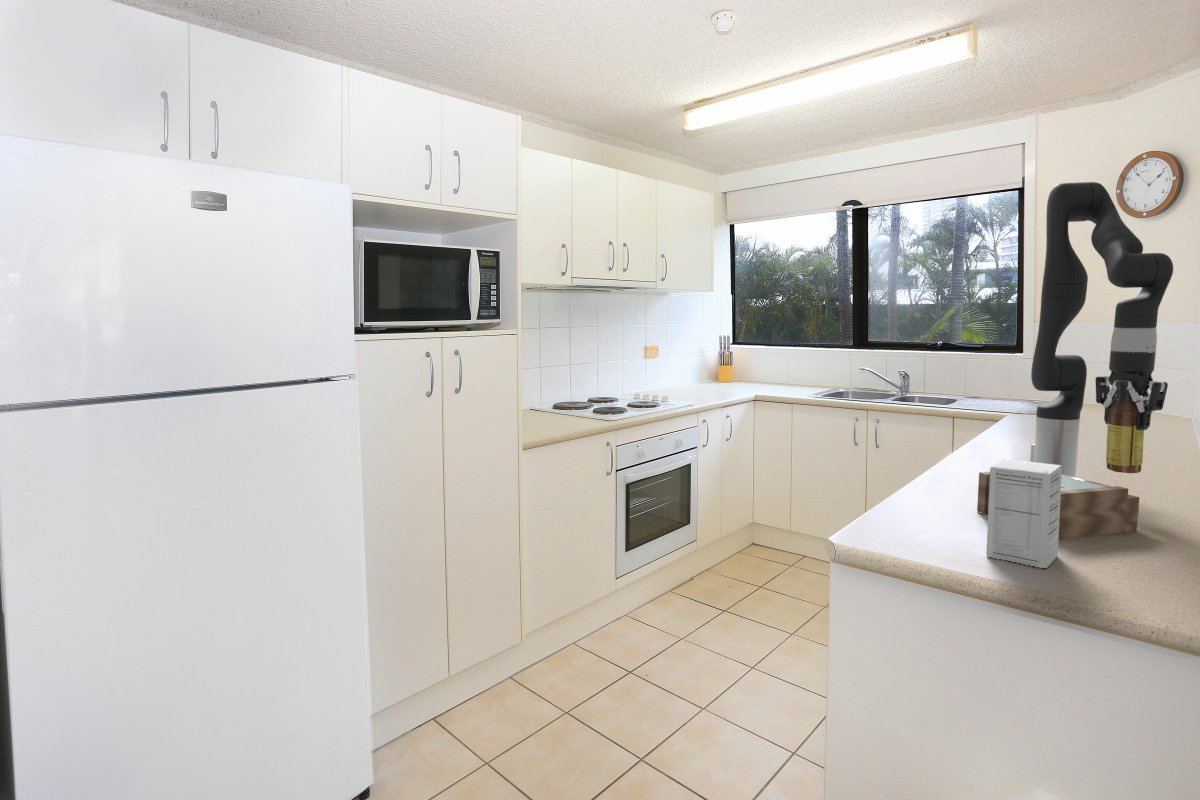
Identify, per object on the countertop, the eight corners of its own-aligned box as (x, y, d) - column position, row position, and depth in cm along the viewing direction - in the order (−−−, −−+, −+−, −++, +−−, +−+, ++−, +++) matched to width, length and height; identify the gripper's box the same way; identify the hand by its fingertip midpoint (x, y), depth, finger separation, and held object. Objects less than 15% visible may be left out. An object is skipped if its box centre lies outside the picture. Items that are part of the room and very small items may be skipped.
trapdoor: (1054, 477, 146) (1054, 471, 146) (1115, 493, 133) (1115, 486, 133) (990, 482, 143) (990, 476, 143) (1046, 499, 129) (1046, 492, 129)
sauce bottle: (1134, 468, 145) (1142, 378, 142) (1147, 475, 139) (1156, 381, 136) (1098, 466, 147) (1106, 378, 144) (1109, 473, 141) (1118, 381, 138)
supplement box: (1059, 556, 118) (1065, 464, 117) (1046, 570, 112) (1053, 473, 110) (999, 544, 125) (1003, 457, 123) (984, 557, 119) (989, 465, 117)
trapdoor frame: (1051, 505, 150) (1054, 467, 149) (1136, 531, 132) (1140, 487, 131) (977, 512, 146) (979, 472, 145) (1053, 539, 128) (1056, 494, 126)
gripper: (1086, 348, 146) (1080, 422, 148) (1153, 351, 132) (1145, 433, 134) (1114, 347, 147) (1108, 421, 149) (1183, 350, 133) (1175, 431, 135)
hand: (1126, 426), depth 142 cm, fingers closed on sauce bottle, 6 cm apart
